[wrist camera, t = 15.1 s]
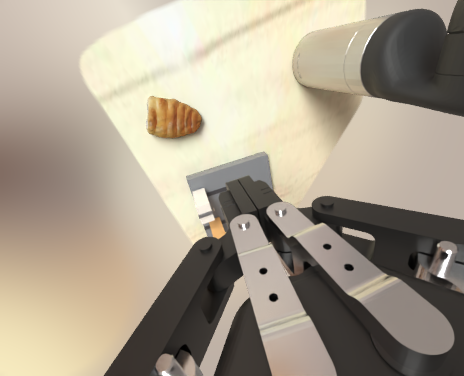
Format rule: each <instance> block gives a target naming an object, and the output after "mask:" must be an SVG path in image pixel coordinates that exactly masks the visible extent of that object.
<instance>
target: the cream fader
mask: <svg viewBox="0 0 464 376" xmlns="http://www.w3.org/2000/svg"><path fill="white" fill-rule="evenodd" d="M192 193H193V197H194V202H195V206H196V209H197V212H198V215H199V219H200V220H201V223H202V224H205V223H208V222H211V221H214V220H215V219H214V216H213V212H212V210H211V207H210V204H209V201H208V198H207V195H206V192H205V189H204V188H202V189H199V190H196V191H193V192H192Z"/></svg>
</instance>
